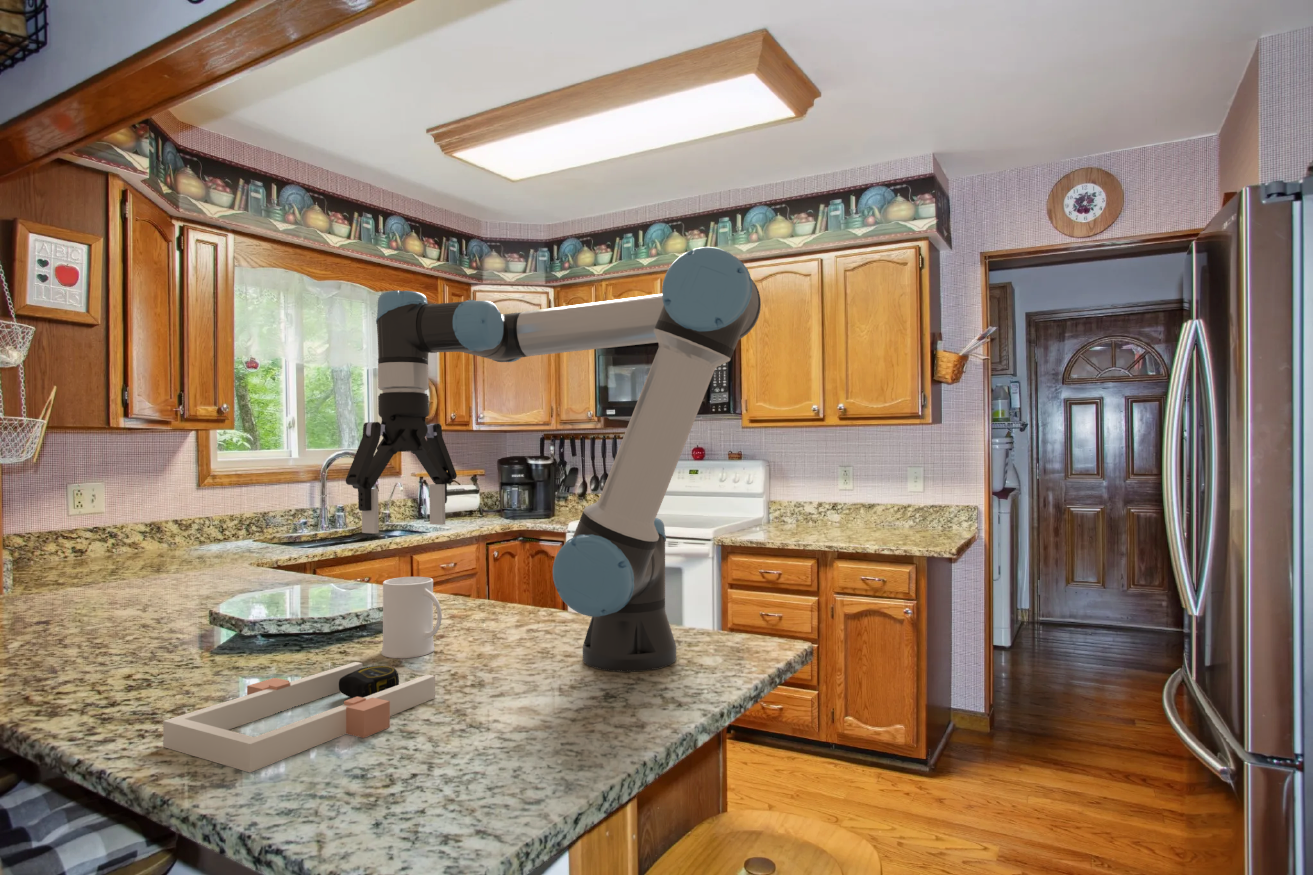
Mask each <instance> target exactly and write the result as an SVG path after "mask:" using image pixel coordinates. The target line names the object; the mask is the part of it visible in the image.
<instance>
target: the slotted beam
mask: <svg viewBox="0 0 1313 875" xmlns="http://www.w3.org/2000/svg"><path fill="white" fill-rule="evenodd" d="M361 668H364V667H363V662H358V661H357V662H356V661H353V662H350V663H347V664H344V665H341V666H338V667H334V668H331V669H328V670H325V671H321V672H318V673H315V674H312V675H307V676H305V677H302V678H299V679H295V680H292V681H290V680H287V679H282V678H278V677H272V678H269V679H266V680H262V681H258V682H256V683H252V684H249V685H247V686H246V692H247V693H246V695H243V696H240V697H236V698H234V699H230V700H227V701H223V702H220V703H218V704H213V705H210V706H207V707H203V708H201V709H197V710H195V711H191V712H188V713H184V714H181V715H178V716H174V717H172V718H168V719H166V720H165V719H164V720H163V724H162V726H163V728H162V730H163V732H162V734H163V736H162V737H163V740H162V744H163V745H162V747H163V748H166V749H168V750H173V751H176V752H180V753H183V754H186V755H190V756H193V757H196V758H200V759H203V760H206V761H208V762H209V761H211V762H214V763H217V764H221V765H223V766H226V767H229V768H234V769H237V770H240V771H244V772H248V773H252V772H255V771H257V770H260V769H263V768H265V767H267V766H268V767H269V766H270V765H272V764H275V763H277V762H279V761H282V760H285V759H287V758H291V757H292V756H295V755H298V754H299V753H302V752H304V751H306V750H310V749H312V748H315V747H316V746H319V745H322V744H325V743H326V742H329V741H332V740H334V739H337V738H340V737H342V736H344V735H350V736H354V737H358V738H362V739H364V738H368V737H369V736H372V735H375V734H377V733H380V732H382V731H384V730H386V729H389V728H390V727H391V725H390V724H391V723H390V722H391V717H392V716H394V715H396V714H398V713H401V712H403V711H406V710H409V709H411V708H414V707H416V706H418V705H420V704H424V703H425V702H428V701H431V700H433V699H436V675H432V674H431V675H430V674H424V675H421V676H419V677H417V678H414V679H411V680H408V681H405V682H402V683H399V685H397V686H394V687H391V688H388V689H386V690H383V691H380V692H377V693H375V694H372V695H369V696H366V697H363V698H362V697H354V698H351V697H350V698H349V699H346V700H344V701H343V704H342V705H339V706H336V707H332V708H331V709H328V710H325V711H323V712H319V713H317V714H314V715H311V716H308V717H305V718H303V719H300V720H297V721H295V722H292V723H289V724H286V725H283V726H281V727H278V728H274V729H273V730H272V729H271V730H270V731H267V732H264V733H262V734H259V735H256V736H251V735H248V734H244V733H241V732H236V731H234V730H231V729H235V728H238V727H241V726H243V725H246V724H249V723H252V722H255V721H258V720H261V719H264V718H266V717H269V716H272V715H276V714H278V712H279V713H281V712H280V711H282V712H284V710H285V711H288V710H290V709H293V708H295V707H294V706H296V707H299V706H302V705H305V704H307V703H311V702H315V701H317V700H319V699H322V697H323V698H325V697H329V696H331V695H335V694H337V693H341V692H340V690H339V680H340V678H342V677H343V676H345V675H347V674H350V673H352V672H354V671H356V670H359V669H361ZM328 695H329V696H328ZM304 703H305V704H304ZM301 704H302V705H301ZM298 705H299V706H298ZM292 707H293V708H292ZM289 708H290V709H289ZM287 709H288V710H287ZM275 713H276V714H275Z"/></svg>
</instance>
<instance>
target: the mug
mask: <svg viewBox="0 0 1313 875" xmlns="http://www.w3.org/2000/svg"><path fill="white" fill-rule="evenodd" d="M434 607H435V610H436V617H437V619H436V624H435V625H434ZM442 614H443V613H442V607H441V605H440V602H439V600H438V598H437V597H436V595H435V594H434V579H433V578H431V577H427V576H402V577H394V578H390V579H386V580H384V581H383V582H382V648H381V650H380V651H381V656H383V657H386V658H390V659H411V658H418V657H423V656H427V655H429V654H432V653H433V652H434V651H435V649H436V648H435V644H434V636H435V635H436V634H437V632H438V631H439V630H440V627H441V625H442V620H443V618H442V617H443V616H442Z"/></svg>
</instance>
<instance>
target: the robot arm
mask: <svg viewBox="0 0 1313 875" xmlns="http://www.w3.org/2000/svg"><path fill="white" fill-rule="evenodd" d="M661 286H662V288H661V289H662V290H661V293H658V294H650V295H644V296H643V295H642V296H635V297H627V298H620V299H613V300H604V301H603V300H602V301H596V302H587V303H580V304H573V305H565V306H557V307H551V308H543V309H542V308H541V309H533V310H526V311H525V310H524V311H521V312H512V313H503V314H502V312H501V311H500V309H499V308H498V307H497V305H496V304H495V303H494V302H492V301H490V300H475V299H467V300H465V301H454V302H442V303H428V299H427V297H426V295H425V294H423V293H421V292H417V291H412V290H411V291H410V290H388V291H385V292H383V293H382V294H380V295H379V297H378V300H377V312H376V314H377V315H376V319H375V322H376V323H375V324H376V328H377V330H376V334H377V355H378V357H377V376H378V377H377V387H378V389H379V391H381V392H382V393H379V395H378V396H377V399H378V401H377V402H378V404H377V407H378V410H377V412H378V416H379V417H380V418H381V421H380V422H379V421H370V422H369V421H368V422H364V423H363V427H362V436H361V437H362V438H361V440H360V443H359V445H358V448H357V450H356V452H355V455H354V458H353V460H352V463H351V465H350V468H349V470H348V473H347V476H346V478H345V483H346V485H348V486H352V488H353V489H355V490H356V489H357V499H358V501H357V503H358V507H357V508H358V510H359V511H361V533H362V534H380V526H379V517H380V514H379V488H374V486H375V485H376V483H377V481H378V479H380V477H381V475H382V474H383V472H384V471H385V469H386V467H387V466H388V464H389V463H390V461H391V460H392V457H394V455H396V454H397V453H399V452H400V453H402V452H404V453H407V452H408V453H409V452H411V454H413V455H415V456H416V458H417V459H418V461H419V463H420V464H421V466H422V467H423V469H424V470H425V471H426V473H427V474H428V476H429V478H430V479H431V480H432V482H433V484H429V485H428V486H429V488H428V489H429V490H428V491H429V496H428V497H429V525H440V526H442V525H446V504H447V502H448V484H449V485H451V484H452V483H453V480H456V479H457V476H458V475H457V472H456V469H455V466H454V464H453V462H452V459H451V456H450V453H449V451H448V448H447V445H446V443H445V439H444V437H443V429H442V425H441V423H427V422H426V418H428V416H429V415H430V401H429V399H430V398H429V395H428V394H427V393H426V391H428V390H429V388H430V387H429V386H430V385H429V382H430V381H429V353H430V354H437V353H455V352H456V353H463V354H469V355H473V356H477V357H481V358H485V359H489V360H492V361H495V362H497V363H512V362H516V361H519V360H520V359H521V358H526V357H534V356H535V357H536V356H542V355H544V356H545V355H554V354H563V353H570V352H571V353H572V352H578V351H579V352H582V351H589V350H590V351H591V350H598V349H608V348H618V347H627V346H635V345H645V344H655V343H658V349H657V351H656V353H655V354H654V355H655V356H654V357H653V358H654V359H653V361H652V364H651V366H650V369H649V372H648V374H647V376H646V377H645V378H646V379H645V382H644V384H643V386H642V389H641V391H640V394H639V397H638V399H637V401H636V404H635V407H634V409H633V412H632V415H631V417H630V420H629V422H628V425H627V427H626V429H625V432H624V435H623V437H622V440H621V443H620V445H619V448H618V450H617V453H616V455H615V457H614V460H613V463H612V466H611V468H610V471H609V473H608V476H607V478H606V481H605V484H604V486H603V488H602V492H600V496H599V499H598V500H597V501H596V502H595V503H591V504H590V505H586V506H585V507H584V508H583V511H582V514H581V516H580V519H579V521H578V524H577V526H576V529H575V531H574V533H573V536H572V537H571V538H570V539H569V538H568V540H566V541H565V542H564V544H563V545H562V546H561V547H560V549H559V550H558V551H557V554H556V555H555V558H554V561H553V565H552V580H553V583H554V587H555V589H556V591H557V593H558V595H559V597H560V598H561V600H562V602H564V603H565V605H567V607H569V608H570V609H572V610H573V611H575V612H576V613H578V614H581V615H584V616H586V617H591V619H590V622H589V626H588V629H587V632H586V635H585V638H584V641H583V644H582V662H583V663H584V664H586V665H588V666H589V667H592V668H595V669H599V670H603V671H613V672H643V671H650V670H657V669H661V668H664V667H667V666H670V665H672V664H673V663H675V662H676V661H677V645H676V644H677V643H676V641H675V637H674V634H673V632H672V628H671V625H670V621H669V619H668V616H667V612H666V541H667V536H666V530H665V524H664V522H663V521H662V519H659V518H657V515H658V513H659V510H660V509H661V505H662V502H663V500H664V498H665V495H666V492H667V491H668V488H669V486H670V483H671V480H672V479H673V475H674V472H675V471H676V468H677V465H678V463H679V460H680V457H682V456H681V455H682V453H683V450H684V448H685V445H686V443H687V440H688V438H689V435H690V433H691V431H692V428H693V426H694V423H695V420H696V418H697V415H698V413H699V410H700V408H701V405H702V402H703V400H704V398H705V396H706V394H707V390H708V388H709V385H710V383H711V381H712V378H713V375H714V372H715V370H716V369H717V368H718V367H720V366H721V365H724V364H726V363H729V362H730V361H731V359H732V356H733V354H734V351H735V349H736V347H737V344H738V342H739V341H740V340H741V339H742V338H744V337H746V335H747V336H748V334H749V333H750V332H751V331H752V330H753V328H754V327H755V325H756V324H757V322H758V319H759V317H760V314H761V306H762V303H761V294H760V292H759V288H758V287H757V285H756V283H755V281H754V280H753V279H752V277H751V274H750V272H749V270H748V268H747V266H746V265H745V264H744V262H743V261H742V260H740V259H739V258H738V257H736V256H735V255H733V254H732V253H730V252H729V251H726V250H725V249H721V248H719V247H712V246H701V247H697V248H693V249H691V250H688V251H686V252H684V253H683V254H681V255H680V256H678V257H677V258H676V259H675V260H674V261H673V262H672V263H671V265H670V266H669V267H668V269H667V271H666V272H665V276H664V278H663V281H662V285H661ZM381 437H382V439H381V441H380V438H381Z"/></svg>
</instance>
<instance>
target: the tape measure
mask: <svg viewBox="0 0 1313 875" xmlns="http://www.w3.org/2000/svg"><path fill="white" fill-rule="evenodd" d="M399 684H400V678H399V673H398V672H397V669H396V668H394V667H392V666H389V665H371V666H366V667H363V668H361V669H359V670H356V671H354V672H352V673H350V674H347V675H345V676H343V677H342V678H340V680H339V690H340V692H339V693H341V694H342V695H344V696H346V697H348V698H350V699H351V698H354V697H362V698H363V697H366V696H369V695H372V694H375V693H377V692H380V691H383V690H386V689H388V688H391V687H394V686H397V685H399Z"/></svg>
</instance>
